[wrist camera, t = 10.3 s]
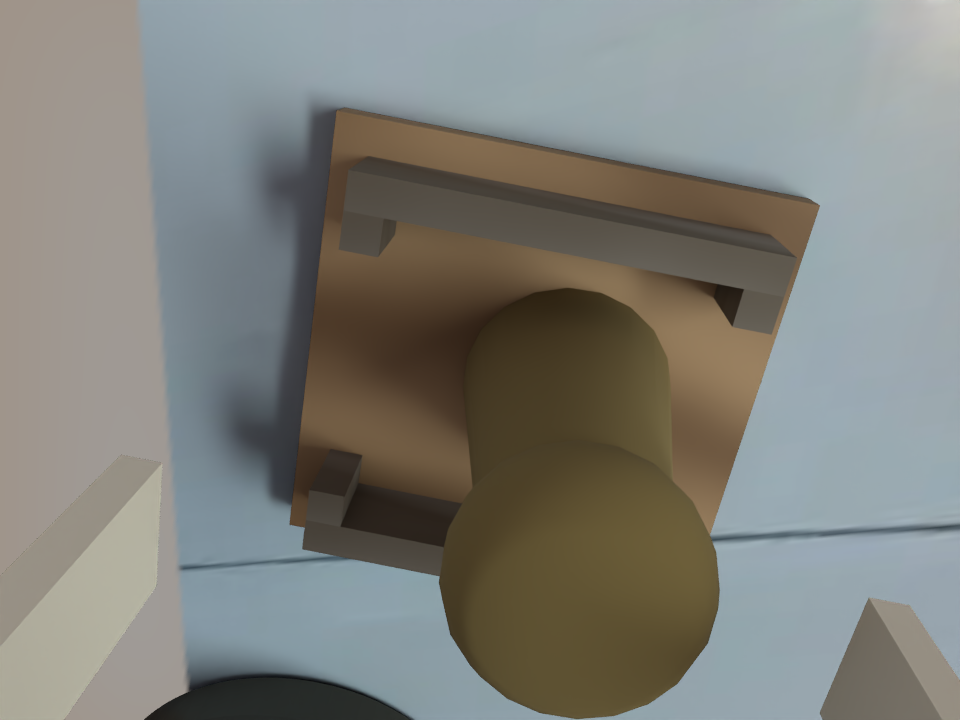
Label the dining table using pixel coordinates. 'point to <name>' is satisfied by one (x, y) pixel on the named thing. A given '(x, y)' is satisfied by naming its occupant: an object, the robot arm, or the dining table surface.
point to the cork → (575, 514)
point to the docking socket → (498, 283)
